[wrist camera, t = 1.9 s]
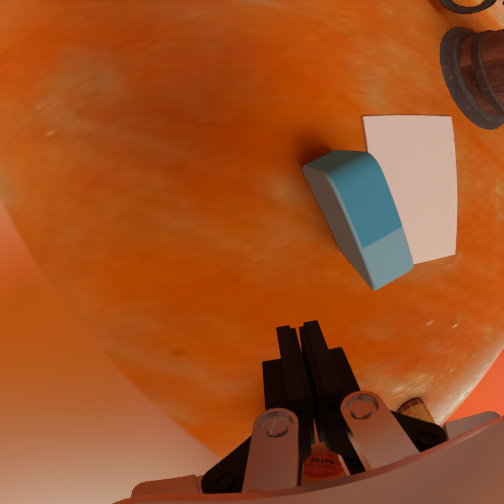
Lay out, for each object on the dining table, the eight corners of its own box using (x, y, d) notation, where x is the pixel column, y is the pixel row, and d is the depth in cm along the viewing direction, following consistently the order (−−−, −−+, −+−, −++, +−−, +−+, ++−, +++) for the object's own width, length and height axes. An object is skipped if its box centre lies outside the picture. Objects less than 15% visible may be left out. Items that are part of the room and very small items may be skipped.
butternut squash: (345, 368, 43) (395, 503, 19) (351, 414, 47) (386, 525, 24) (261, 391, 44) (271, 534, 21) (280, 433, 49) (293, 548, 25)
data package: (370, 236, 36) (417, 274, 24) (340, 252, 36) (377, 297, 25) (332, 149, 32) (375, 151, 21) (298, 165, 33) (326, 175, 21)
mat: (361, 116, 30) (363, 116, 30) (449, 116, 30) (451, 116, 30) (374, 271, 37) (375, 272, 37) (453, 253, 37) (454, 254, 36)
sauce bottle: (400, 401, 47) (437, 478, 29) (426, 394, 47) (465, 464, 29) (392, 420, 49) (423, 493, 31) (417, 413, 49) (450, 481, 31)
